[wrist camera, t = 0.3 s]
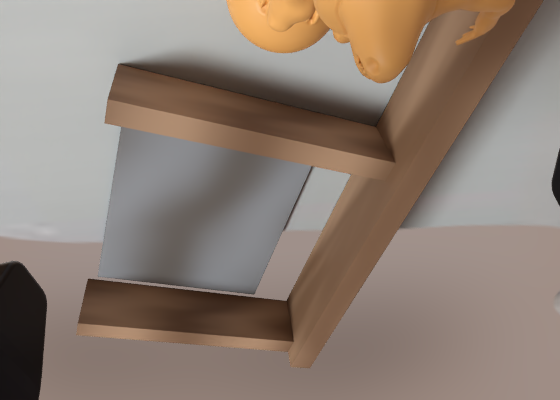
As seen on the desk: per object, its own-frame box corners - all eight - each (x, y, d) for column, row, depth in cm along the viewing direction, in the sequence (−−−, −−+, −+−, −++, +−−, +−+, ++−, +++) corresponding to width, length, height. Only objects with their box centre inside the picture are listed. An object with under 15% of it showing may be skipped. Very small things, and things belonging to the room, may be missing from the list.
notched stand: (578, -198, 16) (668, -197, 13) (298, 312, 31) (309, 368, 28) (185, -416, 12) (181, -489, 9) (86, 290, 27) (72, 351, 24)
